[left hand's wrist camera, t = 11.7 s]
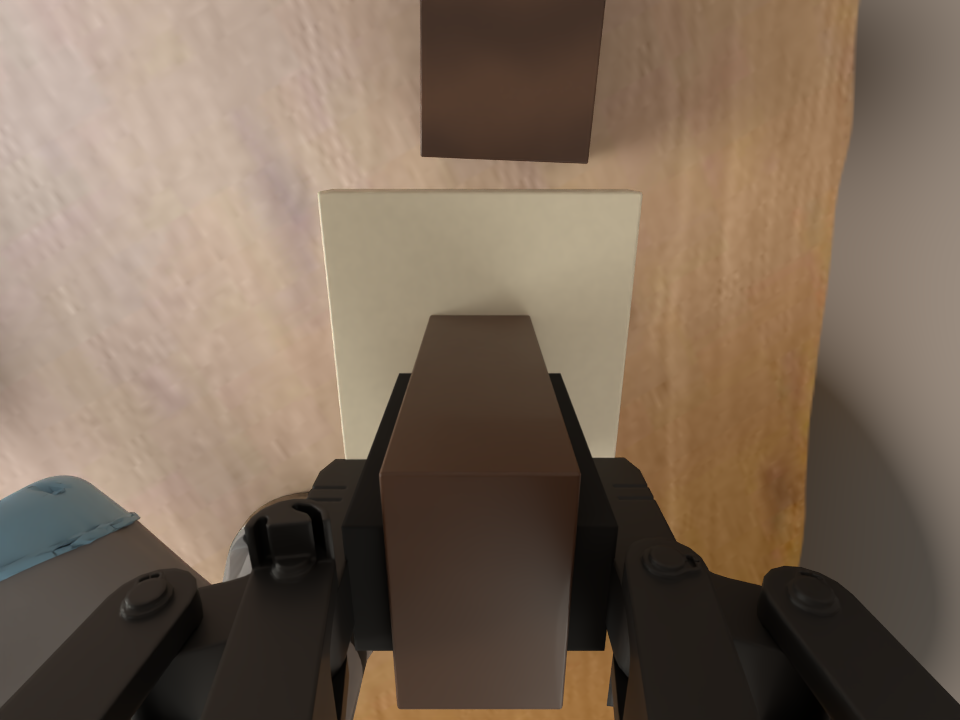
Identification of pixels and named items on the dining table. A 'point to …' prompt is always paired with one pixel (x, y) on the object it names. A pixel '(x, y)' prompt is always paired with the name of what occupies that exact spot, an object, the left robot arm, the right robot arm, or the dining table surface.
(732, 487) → the dining table surface
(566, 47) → the box
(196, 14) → the dining table surface
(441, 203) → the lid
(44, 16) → the dining table surface
